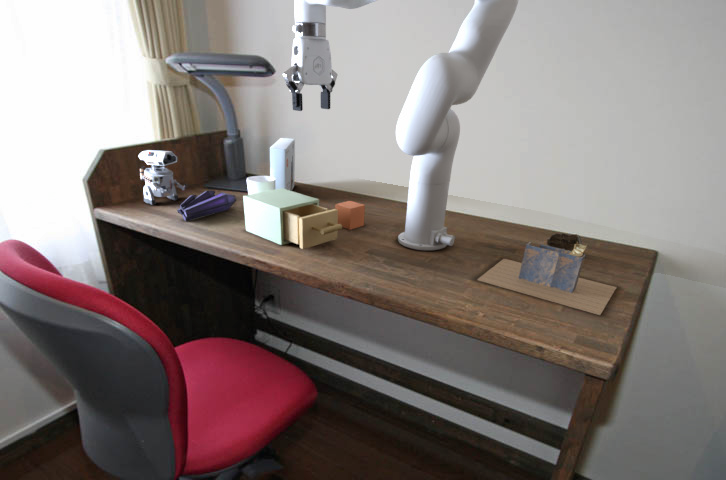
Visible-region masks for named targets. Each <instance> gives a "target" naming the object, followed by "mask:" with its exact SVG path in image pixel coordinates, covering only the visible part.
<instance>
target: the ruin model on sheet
mask: <svg viewBox="0 0 726 480" xmlns="http://www.w3.org/2000/svg"><path fill="white" fill-rule="evenodd" d="M577 243H578V242H577ZM587 246H588V244H582V245H581V244H575V246H574V249H573V251H568V250H564V249H559V248H555V247H551V246H548V245H547V244H543V243H541V244H539V246H535V245H532V241H529V242H528V243H527V244H525V249H524V253H523V257H522V261H521V262H519V261H517V260H516V261H515V260H511V259H508V258H502V259H501V260H500V261H499V262H497V263H496V264H494V266H493V267H491V268H489V270H487V271H486V272H485V273H484V274H482V275H481V276H479V277H478V278H476V281H478V282H483V283H485V284H489V285H492V286H496V287H500V288H504V289H507V290H511V291H514V292H518V293H520V294H524V295H528V296H531V297H535V298H539V299H542V300H545V301H549V302H553V303H556V304H559V305H563V306H566V307H569V308H573V309H576V310H580V311H584V312H588V313H590V314H594V315H597V316H601V315H602V313H603V311H604V310H605V308H606V307H607V305H608V303H609V301H610V300H611V298H612V297H613V294H614V293H615V291H616V289H617V288H618V287H617V286H615V285H610V284H606V283H602V282H599V281H595V280H590V279H586V278H583V277H580V275H581V271H582V269H583V266H584V261H585V258H586V256H587V255H586V254H585V251H586V249H587Z"/></svg>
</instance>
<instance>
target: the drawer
mask: <svg viewBox="0 0 726 480" xmlns="http://www.w3.org/2000/svg"><path fill="white" fill-rule="evenodd" d="M342 229H343V227H342V225H341V224H338V210H337V209H335V208H331V209H329V208H328V207H324V206H321V205H319V206H318V205H315V204H311V205H306V206H302V207H298V208H294V209H289V210H285V211H283V233H284V239H286V240H288V241H291V243H293V244H296V245H299V248H300V249H302V250H305V249H308V248H312V247H315V246H318V245H321V244H324V243H329V242H331V241H335V240H337V239H338V231H341V230H342Z"/></svg>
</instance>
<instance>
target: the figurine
mask: <svg viewBox="0 0 726 480" xmlns="http://www.w3.org/2000/svg"><path fill="white" fill-rule="evenodd" d="M137 157H138V158H139V161H144V162H145V163H146V165H147V166H149V165H150V166H151V167H147V166H141V168H139V176H140V177H139V178H140V181H144V182H145V185H144V186H143V191H142V192H143V202H145V203H146V204H149V205H151V206H154V205H156V204H157V202H156V199H155V197H157V198H164V197H167V199H169V200H173V201H178V200H179V195H178V193H177V189H176V188H179V189H180V190H181V191H185V190H186V188H188V187H189V184H188V182H186V181H185V184H184V185H182V184H180V182H178V181H177V179H174V171H172V170H170V169H169V168H167V167H166V166H169V165H172V164H173V165H174V164H175V163H178V156H177V155H175V153H174V152H173V151H171V150H155V149H153V150H152V149H146V150H143V151H141V152H140V153H139V154H138V156H137ZM144 168H145V169H144Z"/></svg>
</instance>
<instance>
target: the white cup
mask: <svg viewBox="0 0 726 480" xmlns="http://www.w3.org/2000/svg"><path fill="white" fill-rule="evenodd" d="M246 185H247V195H250V194H255V193H260V192H265V191H270V190H275V189H276V187H275V178H274V177H270V175H253V176H248V177H246Z"/></svg>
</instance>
